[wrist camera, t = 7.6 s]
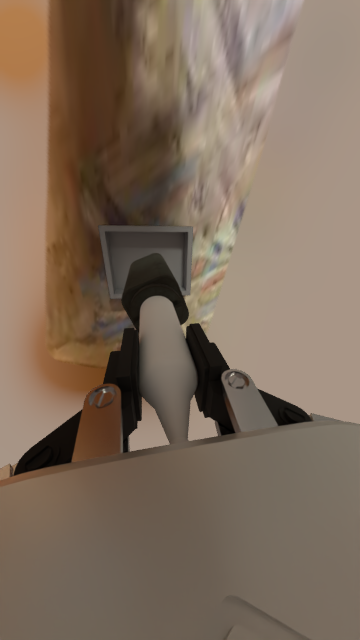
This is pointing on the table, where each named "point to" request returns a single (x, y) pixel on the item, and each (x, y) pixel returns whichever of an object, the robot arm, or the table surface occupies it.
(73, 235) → the table surface
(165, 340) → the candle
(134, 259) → the tray
